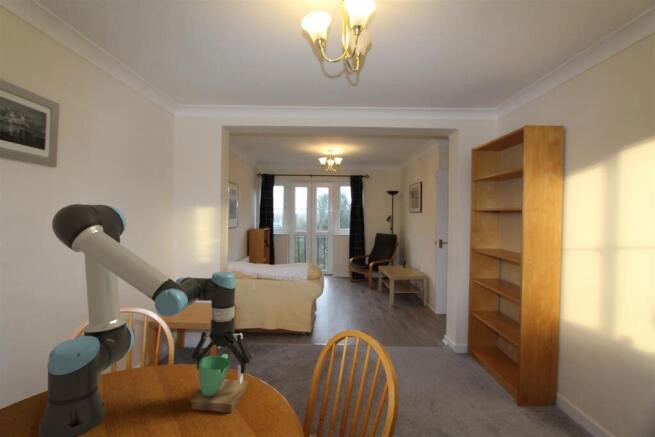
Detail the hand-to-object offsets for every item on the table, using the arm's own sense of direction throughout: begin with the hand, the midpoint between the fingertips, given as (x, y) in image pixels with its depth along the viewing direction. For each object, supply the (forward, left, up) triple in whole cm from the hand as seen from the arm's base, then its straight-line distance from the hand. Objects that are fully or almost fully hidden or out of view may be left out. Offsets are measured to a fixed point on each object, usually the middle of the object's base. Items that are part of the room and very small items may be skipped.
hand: (221, 380), depth 106 cm
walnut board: (0, 0, -6) cm, 6 cm away
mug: (-3, 0, -3) cm, 4 cm away
